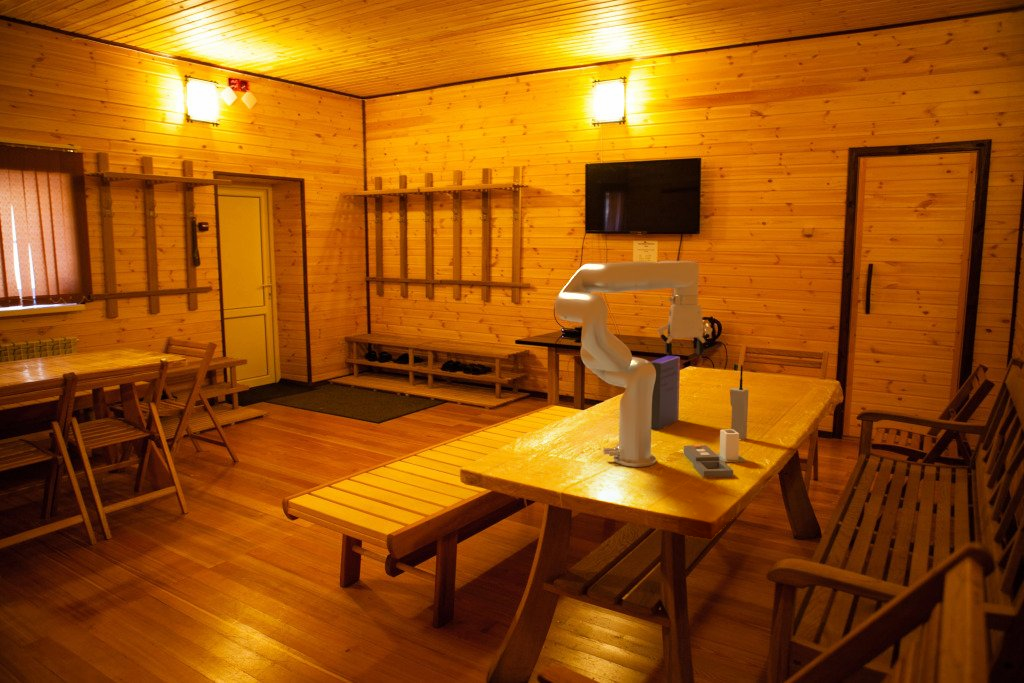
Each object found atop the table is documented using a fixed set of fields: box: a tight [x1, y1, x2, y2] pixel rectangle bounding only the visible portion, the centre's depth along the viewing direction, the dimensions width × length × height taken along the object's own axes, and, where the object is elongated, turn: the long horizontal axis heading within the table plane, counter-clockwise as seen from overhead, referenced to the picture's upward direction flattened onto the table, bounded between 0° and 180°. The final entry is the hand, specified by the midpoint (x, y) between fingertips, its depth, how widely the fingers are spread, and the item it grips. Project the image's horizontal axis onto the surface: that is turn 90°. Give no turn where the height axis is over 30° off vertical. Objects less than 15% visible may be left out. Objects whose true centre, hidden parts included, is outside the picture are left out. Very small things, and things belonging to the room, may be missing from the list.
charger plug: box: [719, 428, 740, 460], centre depth 215 cm, size 4×5×8 cm
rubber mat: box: [715, 452, 747, 464], centre depth 216 cm, size 8×8×1 cm
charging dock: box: [683, 444, 734, 478], centre depth 209 cm, size 8×21×4 cm, turn 3°
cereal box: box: [650, 355, 681, 431], centre depth 255 cm, size 17×5×24 cm, turn 145°
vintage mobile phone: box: [729, 364, 749, 441], centre depth 236 cm, size 4×5×25 cm
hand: (684, 355), depth 223 cm, fingers open, 9 cm apart
